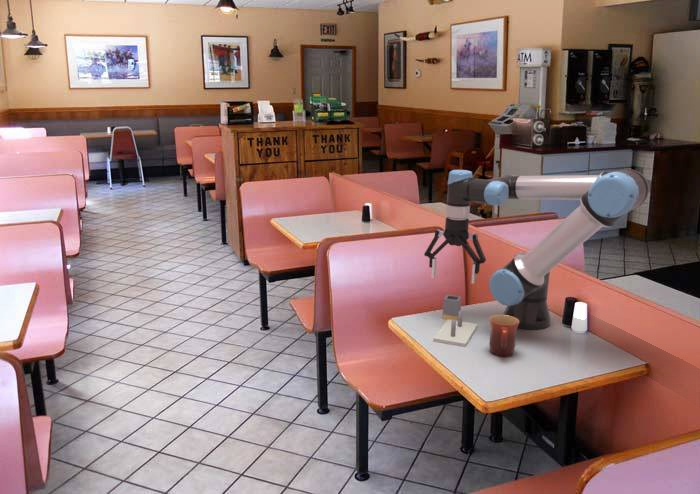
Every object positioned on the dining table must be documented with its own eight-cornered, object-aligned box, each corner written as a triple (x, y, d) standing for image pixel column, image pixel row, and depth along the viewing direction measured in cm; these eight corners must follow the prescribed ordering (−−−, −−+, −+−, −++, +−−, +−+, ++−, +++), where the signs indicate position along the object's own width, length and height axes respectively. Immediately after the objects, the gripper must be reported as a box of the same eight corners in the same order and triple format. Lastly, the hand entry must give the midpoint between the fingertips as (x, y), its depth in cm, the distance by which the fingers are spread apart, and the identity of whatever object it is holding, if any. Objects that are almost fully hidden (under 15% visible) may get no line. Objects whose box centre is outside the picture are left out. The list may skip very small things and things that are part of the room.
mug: (486, 345, 193) (488, 313, 191) (515, 348, 192) (518, 316, 189) (486, 361, 182) (489, 327, 179) (518, 364, 180) (521, 330, 178)
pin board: (477, 326, 208) (478, 309, 206) (465, 346, 192) (466, 328, 190) (447, 322, 212) (448, 305, 210) (433, 341, 195) (434, 322, 194)
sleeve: (460, 316, 217) (461, 296, 216) (456, 320, 213) (458, 301, 211) (446, 313, 219) (447, 294, 218) (442, 318, 215) (443, 298, 213)
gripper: (497, 219, 206) (492, 281, 212) (423, 211, 215) (420, 271, 221) (493, 223, 200) (488, 288, 205) (417, 215, 209) (414, 277, 214)
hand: (453, 279), depth 213 cm, fingers open, 13 cm apart
